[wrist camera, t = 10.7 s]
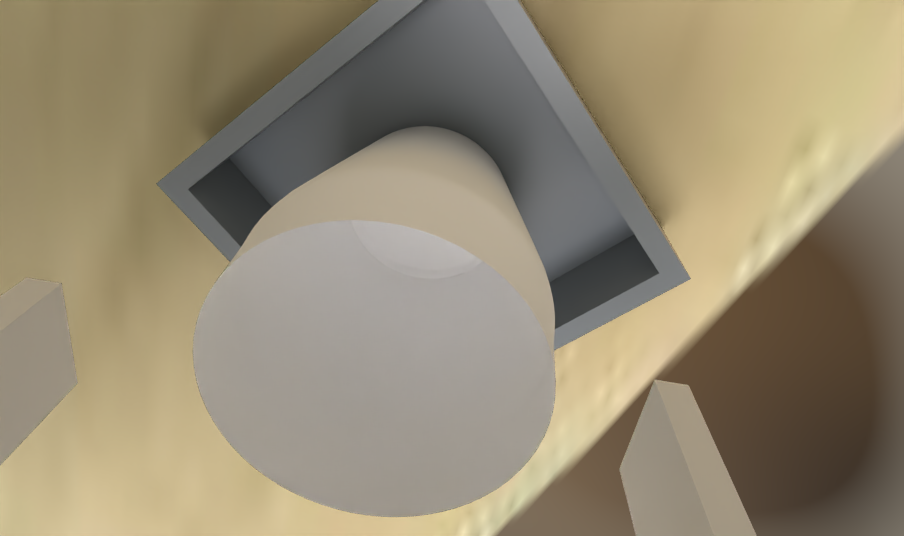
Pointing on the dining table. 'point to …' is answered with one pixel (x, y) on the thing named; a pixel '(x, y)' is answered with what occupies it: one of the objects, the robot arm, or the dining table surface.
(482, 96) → the bin
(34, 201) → the dining table surface
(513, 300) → the cup
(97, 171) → the dining table surface
